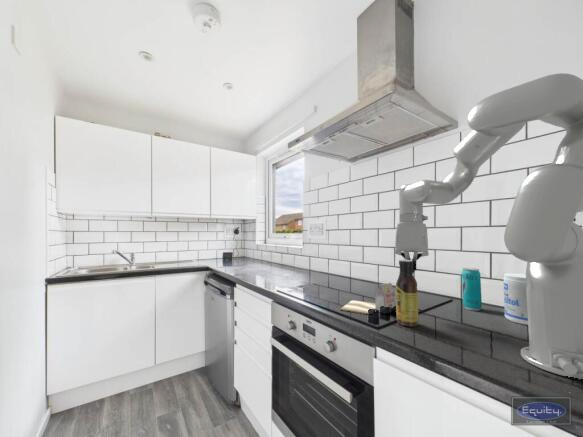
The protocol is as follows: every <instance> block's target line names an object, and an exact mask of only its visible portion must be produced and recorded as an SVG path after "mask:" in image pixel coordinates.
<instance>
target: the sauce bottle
mask: <svg viewBox="0 0 583 437" xmlns="http://www.w3.org/2000/svg"><path fill="white" fill-rule="evenodd" d="M398 264H399V273H398V274H399V275H398V277H397V280H396V283H395V295H396V311H395V312H396V322H397V323H398V324H399V325H400V326H404V327H410V328H411V327H412V328H415V327H417V326H418V324H419V294H418V293H419V292H418V282H417V279H416V278H415V277H414V273H413V261H412V259H411V260H406V259H398Z"/></svg>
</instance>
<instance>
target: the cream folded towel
mask: <svg viewBox="0 0 583 437" xmlns="http://www.w3.org/2000/svg"><path fill="white" fill-rule="evenodd" d="M369 309H376V308H375V302H369V301H367V302H366V301H363V300H362V301H360V300H354V299H352V300H350V301H349V302H348V303H346V304H345V305H343V306H342V307H340V309H339V310H340V311H341V310H343V311H342V312H347V311H350V312H349V313H354V312H355V313H356V314H360V313H361V314H360V315H366V314H368V310H369Z"/></svg>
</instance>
